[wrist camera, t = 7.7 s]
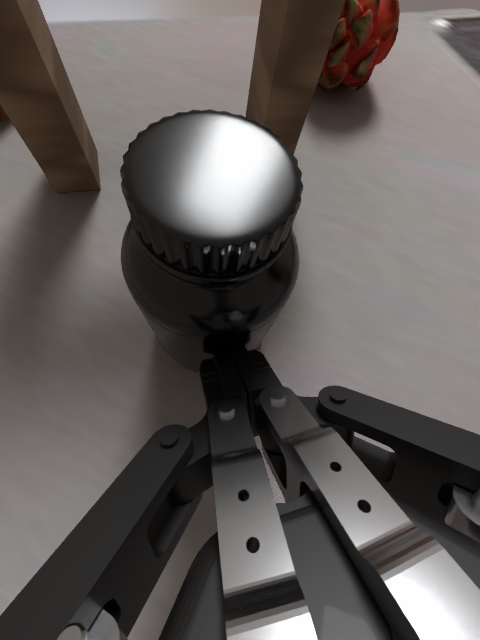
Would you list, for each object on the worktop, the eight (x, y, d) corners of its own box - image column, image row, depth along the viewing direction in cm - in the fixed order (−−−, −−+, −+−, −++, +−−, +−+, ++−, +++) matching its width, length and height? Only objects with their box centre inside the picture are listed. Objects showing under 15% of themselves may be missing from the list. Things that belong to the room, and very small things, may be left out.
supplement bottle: (235, 265, 20) (275, 68, 9) (278, 349, 18) (396, 236, 7) (142, 297, 18) (45, 103, 7) (179, 393, 17) (128, 336, 5)
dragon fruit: (298, 125, 28) (327, 84, 34) (392, 95, 24) (406, 53, 30) (273, 10, 23) (313, -16, 29) (391, -59, 18) (409, -72, 24)
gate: (274, 141, 25) (379, -277, 10) (286, 174, 24) (427, -245, 9) (55, 152, 21) (-280, -456, 7) (57, 193, 20) (-353, -444, 5)
